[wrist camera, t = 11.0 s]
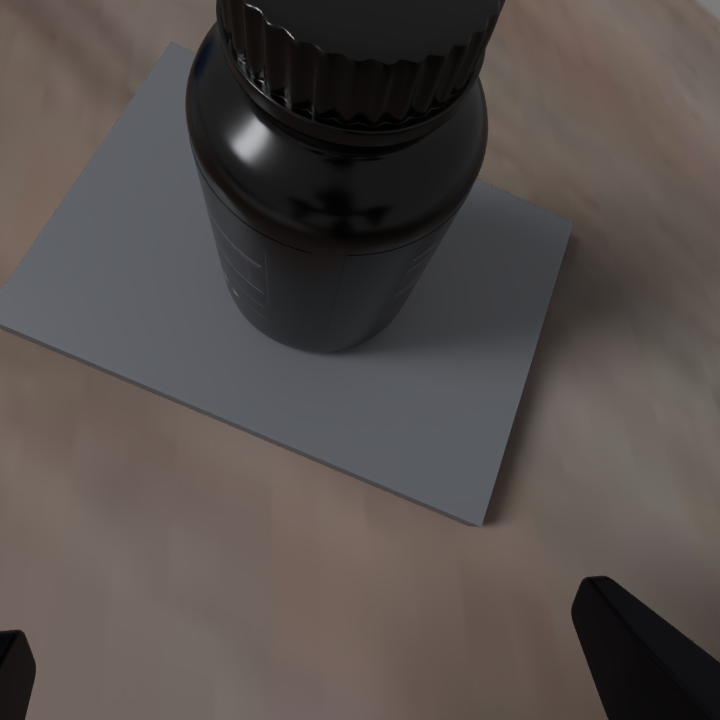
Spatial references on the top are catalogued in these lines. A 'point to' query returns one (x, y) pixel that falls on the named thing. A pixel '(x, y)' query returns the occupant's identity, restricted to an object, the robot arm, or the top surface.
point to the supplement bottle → (336, 153)
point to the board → (271, 359)
